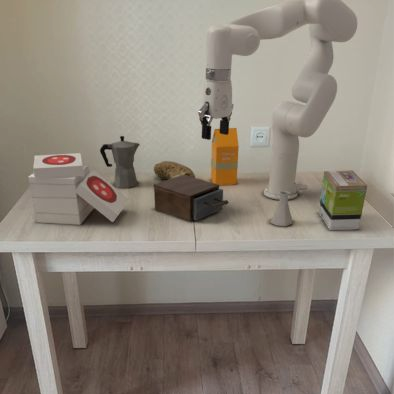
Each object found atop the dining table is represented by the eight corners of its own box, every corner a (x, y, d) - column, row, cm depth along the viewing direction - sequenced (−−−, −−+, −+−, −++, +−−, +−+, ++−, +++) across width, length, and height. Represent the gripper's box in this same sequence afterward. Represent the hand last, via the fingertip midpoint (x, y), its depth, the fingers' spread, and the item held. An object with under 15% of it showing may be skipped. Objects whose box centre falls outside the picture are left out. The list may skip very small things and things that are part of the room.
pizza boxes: (117, 229, 157) (112, 172, 146) (28, 224, 160) (16, 167, 149) (131, 207, 172) (127, 154, 162) (49, 203, 175) (40, 151, 165)
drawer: (234, 213, 166) (235, 193, 162) (208, 224, 158) (209, 203, 154) (189, 198, 177) (189, 179, 173) (162, 208, 169) (162, 188, 165)
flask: (286, 228, 158) (290, 198, 152) (266, 223, 161) (269, 193, 155) (295, 221, 163) (299, 191, 157) (275, 216, 166) (278, 187, 160)
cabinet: (218, 209, 171) (219, 184, 166) (190, 221, 162) (190, 195, 157) (183, 198, 180) (183, 174, 175) (154, 209, 171) (153, 184, 166)
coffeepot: (139, 179, 198) (135, 131, 188) (145, 186, 191) (142, 137, 180) (101, 183, 194) (96, 135, 183) (106, 190, 187) (101, 141, 176)
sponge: (198, 188, 193) (181, 164, 205) (196, 171, 187) (179, 146, 199) (167, 198, 191) (152, 173, 203) (164, 180, 185) (148, 155, 197)
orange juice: (236, 184, 194) (239, 130, 182) (215, 185, 192) (216, 131, 180) (231, 178, 200) (234, 125, 188) (210, 179, 198) (211, 126, 186)
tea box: (316, 213, 169) (323, 169, 160) (345, 212, 169) (353, 169, 161) (328, 230, 157) (336, 184, 148) (359, 230, 157) (369, 184, 149)
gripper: (211, 79, 138) (208, 143, 148) (244, 74, 150) (239, 134, 160) (190, 76, 142) (189, 139, 152) (224, 72, 153) (221, 130, 163)
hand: (215, 136), depth 156 cm, fingers open, 9 cm apart
